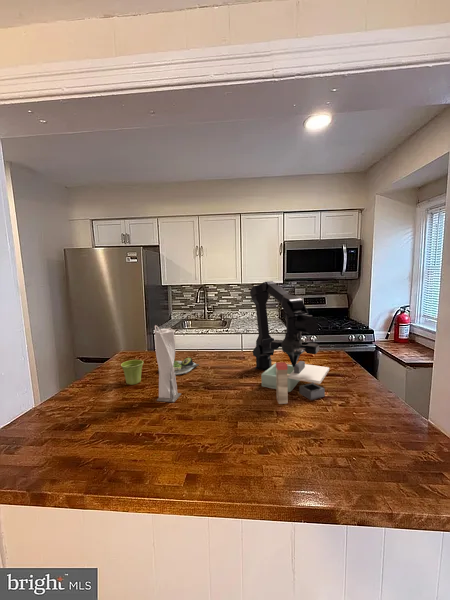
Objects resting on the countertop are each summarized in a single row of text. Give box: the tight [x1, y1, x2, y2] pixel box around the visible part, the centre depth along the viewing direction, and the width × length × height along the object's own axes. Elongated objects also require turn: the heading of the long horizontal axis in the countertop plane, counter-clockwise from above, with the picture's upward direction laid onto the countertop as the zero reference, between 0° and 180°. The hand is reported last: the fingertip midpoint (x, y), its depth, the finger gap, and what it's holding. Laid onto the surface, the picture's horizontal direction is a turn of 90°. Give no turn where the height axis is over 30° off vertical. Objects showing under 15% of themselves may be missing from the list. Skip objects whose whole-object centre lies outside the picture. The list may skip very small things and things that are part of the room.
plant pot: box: [120, 359, 144, 386], centre depth 125 cm, size 9×9×9 cm
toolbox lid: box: [288, 360, 330, 385], centre depth 114 cm, size 12×16×4 cm
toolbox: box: [260, 362, 301, 393], centre depth 120 cm, size 12×16×5 cm
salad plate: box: [157, 357, 200, 376], centre depth 139 cm, size 19×18×5 cm
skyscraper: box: [154, 324, 182, 403], centre depth 109 cm, size 8×8×28 cm
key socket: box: [298, 382, 326, 401], centre depth 107 cm, size 6×6×3 cm
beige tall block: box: [275, 361, 289, 405], centre depth 102 cm, size 3×3×14 cm
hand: (294, 367), depth 116 cm, fingers closed
